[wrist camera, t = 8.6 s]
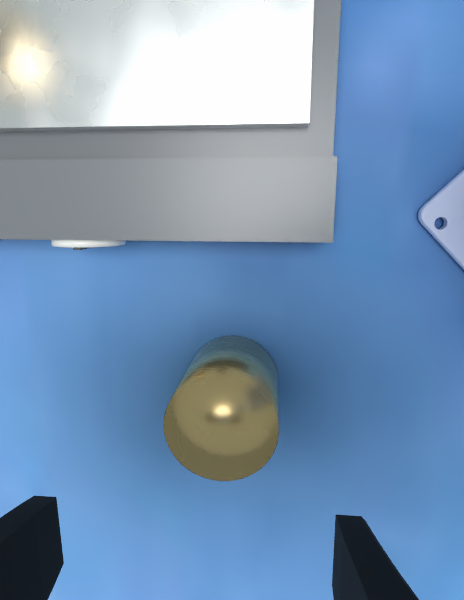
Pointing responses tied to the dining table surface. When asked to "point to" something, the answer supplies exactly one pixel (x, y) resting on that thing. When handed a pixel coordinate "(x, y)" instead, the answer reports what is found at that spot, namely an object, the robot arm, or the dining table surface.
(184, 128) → the scale
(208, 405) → the cylinder
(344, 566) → the robot arm
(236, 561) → the dining table surface
